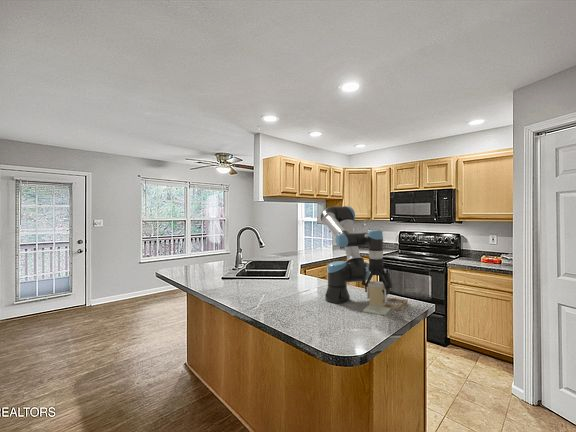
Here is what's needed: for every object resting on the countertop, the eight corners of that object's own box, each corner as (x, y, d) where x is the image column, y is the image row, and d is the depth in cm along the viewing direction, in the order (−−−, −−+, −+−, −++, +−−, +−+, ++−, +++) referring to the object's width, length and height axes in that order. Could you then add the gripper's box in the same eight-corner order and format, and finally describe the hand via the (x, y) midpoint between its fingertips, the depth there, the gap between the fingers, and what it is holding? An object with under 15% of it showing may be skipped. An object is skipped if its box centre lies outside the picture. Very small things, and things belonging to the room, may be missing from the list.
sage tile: (362, 311, 157) (362, 310, 157) (369, 305, 167) (369, 304, 167) (385, 315, 150) (385, 313, 150) (391, 309, 160) (391, 307, 160)
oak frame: (374, 306, 166) (374, 302, 166) (381, 299, 178) (381, 296, 178) (401, 310, 158) (401, 306, 158) (407, 303, 170) (407, 299, 170)
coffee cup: (387, 307, 153) (386, 285, 153) (368, 307, 155) (368, 284, 155) (384, 302, 162) (384, 281, 162) (367, 301, 164) (367, 280, 164)
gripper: (354, 257, 161) (355, 298, 161) (394, 260, 150) (395, 304, 149) (359, 256, 168) (360, 295, 168) (398, 258, 156) (399, 300, 156)
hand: (377, 299), depth 158 cm, fingers closed on coffee cup, 9 cm apart
